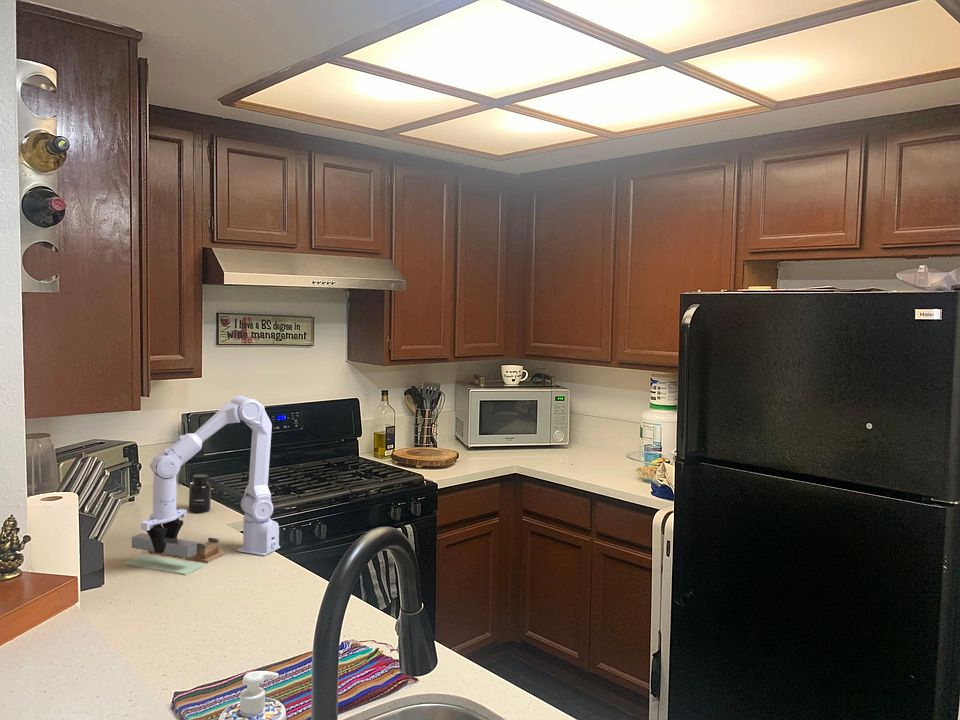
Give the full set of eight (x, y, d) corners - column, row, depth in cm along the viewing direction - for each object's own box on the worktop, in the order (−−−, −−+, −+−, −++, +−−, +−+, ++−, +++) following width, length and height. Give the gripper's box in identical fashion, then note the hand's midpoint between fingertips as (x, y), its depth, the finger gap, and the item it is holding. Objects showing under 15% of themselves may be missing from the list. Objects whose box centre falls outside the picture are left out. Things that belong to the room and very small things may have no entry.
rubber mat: (204, 566, 193) (204, 565, 193) (186, 575, 187) (186, 573, 186) (143, 556, 199) (143, 554, 199) (123, 564, 193) (124, 562, 193)
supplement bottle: (196, 515, 239) (196, 479, 239) (184, 511, 244) (184, 475, 243) (214, 510, 245) (215, 475, 244) (203, 507, 249) (203, 472, 248)
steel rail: (196, 553, 192) (196, 542, 191) (187, 557, 188) (187, 546, 188) (141, 543, 197) (141, 533, 197) (131, 547, 194) (131, 536, 194)
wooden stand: (224, 555, 202) (224, 538, 202) (207, 563, 196) (207, 546, 196) (166, 545, 209) (166, 529, 208) (147, 552, 202) (147, 536, 202)
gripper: (172, 491, 200) (171, 540, 201) (131, 504, 186) (131, 556, 187) (193, 494, 198) (192, 543, 199) (153, 507, 184) (153, 560, 185)
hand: (164, 550), depth 193 cm, fingers closed on steel rail, 3 cm apart
